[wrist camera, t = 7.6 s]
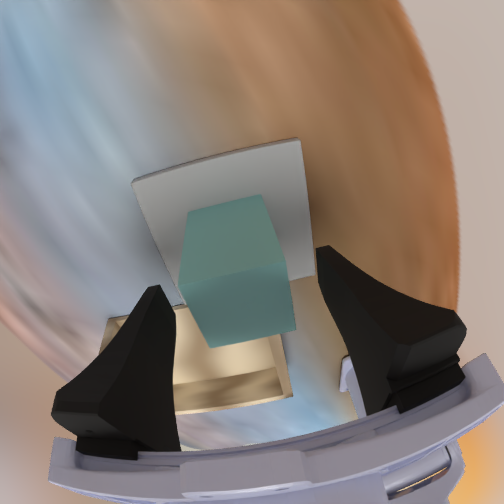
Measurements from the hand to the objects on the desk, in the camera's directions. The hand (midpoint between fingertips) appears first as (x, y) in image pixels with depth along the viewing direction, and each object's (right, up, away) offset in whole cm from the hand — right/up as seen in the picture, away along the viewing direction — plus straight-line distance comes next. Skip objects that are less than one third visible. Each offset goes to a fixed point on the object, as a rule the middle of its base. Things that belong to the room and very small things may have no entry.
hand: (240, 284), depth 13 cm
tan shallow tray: (-4, -6, +10) cm, 12 cm away
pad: (-1, +3, +4) cm, 5 cm away
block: (-1, +3, +3) cm, 4 cm away
